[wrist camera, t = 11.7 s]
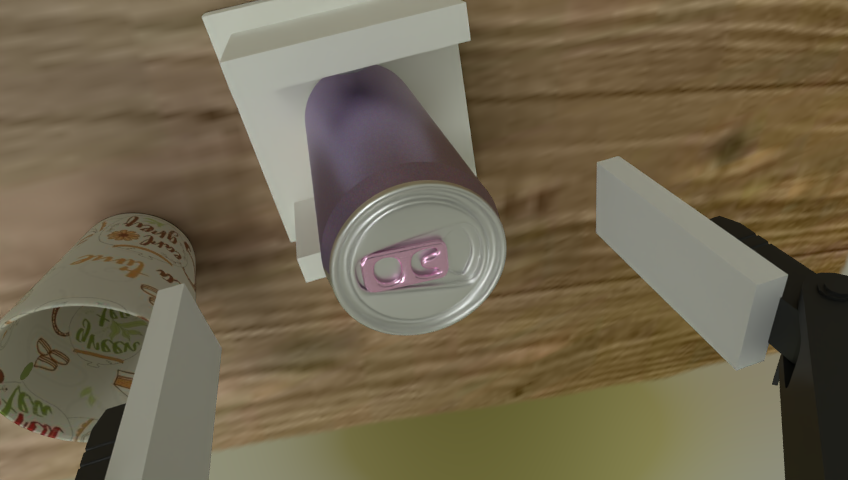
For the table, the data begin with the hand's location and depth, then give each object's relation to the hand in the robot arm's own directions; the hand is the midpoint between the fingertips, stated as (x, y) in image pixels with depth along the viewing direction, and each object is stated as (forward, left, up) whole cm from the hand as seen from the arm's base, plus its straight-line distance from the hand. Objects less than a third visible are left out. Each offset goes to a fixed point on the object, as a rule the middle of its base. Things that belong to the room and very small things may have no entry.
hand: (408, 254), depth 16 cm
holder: (0, 0, -16) cm, 16 cm away
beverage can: (0, 0, -15) cm, 15 cm away
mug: (-5, -17, -16) cm, 24 cm away
